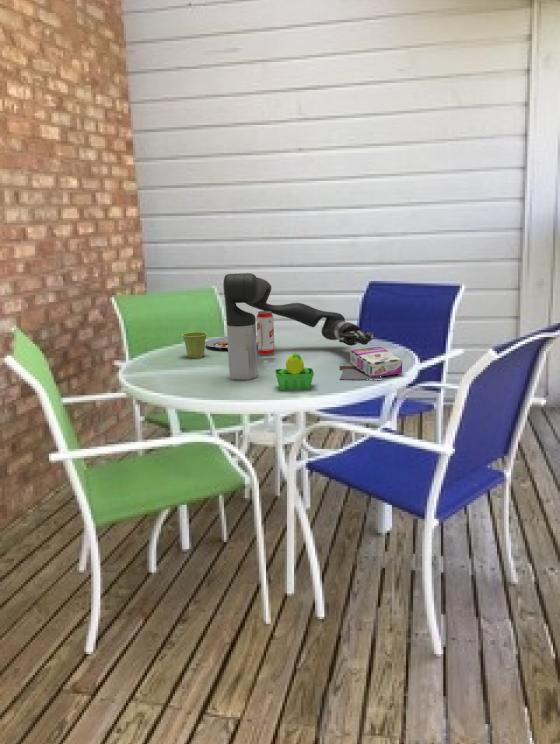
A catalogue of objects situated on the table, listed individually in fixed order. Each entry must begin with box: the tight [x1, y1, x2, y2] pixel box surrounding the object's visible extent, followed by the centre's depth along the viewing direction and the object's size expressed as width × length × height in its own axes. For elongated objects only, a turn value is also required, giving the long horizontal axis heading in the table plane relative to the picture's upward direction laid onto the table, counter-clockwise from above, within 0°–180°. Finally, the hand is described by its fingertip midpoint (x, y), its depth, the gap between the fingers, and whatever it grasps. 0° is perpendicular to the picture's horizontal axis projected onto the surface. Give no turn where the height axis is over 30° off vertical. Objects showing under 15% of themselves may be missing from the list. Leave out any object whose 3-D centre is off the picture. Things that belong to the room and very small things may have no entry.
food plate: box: [205, 335, 258, 350], centre depth 264 cm, size 25×23×4 cm
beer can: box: [256, 310, 275, 356], centre depth 243 cm, size 6×6×16 cm
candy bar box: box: [349, 346, 403, 378], centre depth 210 cm, size 11×5×16 cm
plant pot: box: [181, 331, 208, 359], centre depth 244 cm, size 9×9×9 cm
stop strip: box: [339, 365, 358, 371], centre depth 214 cm, size 1×16×1 cm, turn 79°
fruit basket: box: [274, 352, 315, 391], centre depth 194 cm, size 11×9×11 cm
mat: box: [339, 369, 384, 381], centre depth 208 cm, size 14×13×1 cm
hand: (365, 341), depth 216 cm, fingers closed
